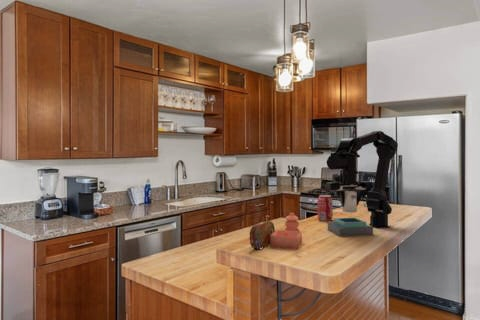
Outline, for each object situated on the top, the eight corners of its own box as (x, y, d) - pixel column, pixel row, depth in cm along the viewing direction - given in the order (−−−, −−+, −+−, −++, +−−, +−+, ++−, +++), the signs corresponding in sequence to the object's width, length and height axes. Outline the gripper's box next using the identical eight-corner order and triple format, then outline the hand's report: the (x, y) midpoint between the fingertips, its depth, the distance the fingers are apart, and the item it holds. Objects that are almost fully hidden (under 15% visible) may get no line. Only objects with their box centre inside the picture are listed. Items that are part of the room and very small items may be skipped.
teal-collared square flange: (358, 228, 145) (358, 216, 145) (373, 234, 133) (373, 222, 133) (327, 229, 143) (327, 218, 143) (339, 236, 131) (339, 223, 131)
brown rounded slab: (256, 252, 112) (255, 227, 111) (247, 250, 113) (247, 226, 113) (275, 241, 124) (275, 219, 124) (268, 240, 126) (268, 218, 126)
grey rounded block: (352, 209, 141) (352, 191, 141) (361, 212, 134) (361, 193, 134) (340, 210, 140) (340, 191, 140) (348, 213, 133) (348, 193, 133)
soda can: (331, 218, 167) (331, 194, 167) (333, 221, 160) (333, 196, 160) (316, 218, 168) (316, 194, 167) (318, 221, 160) (318, 196, 160)
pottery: (297, 249, 114) (297, 221, 114) (270, 247, 118) (270, 219, 117) (305, 237, 131) (305, 212, 131) (282, 235, 134) (282, 211, 134)
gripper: (360, 167, 147) (361, 202, 147) (320, 168, 144) (320, 204, 144) (374, 168, 136) (374, 206, 136) (330, 169, 133) (331, 208, 133)
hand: (349, 206), depth 138 cm, fingers closed on grey rounded block, 5 cm apart
